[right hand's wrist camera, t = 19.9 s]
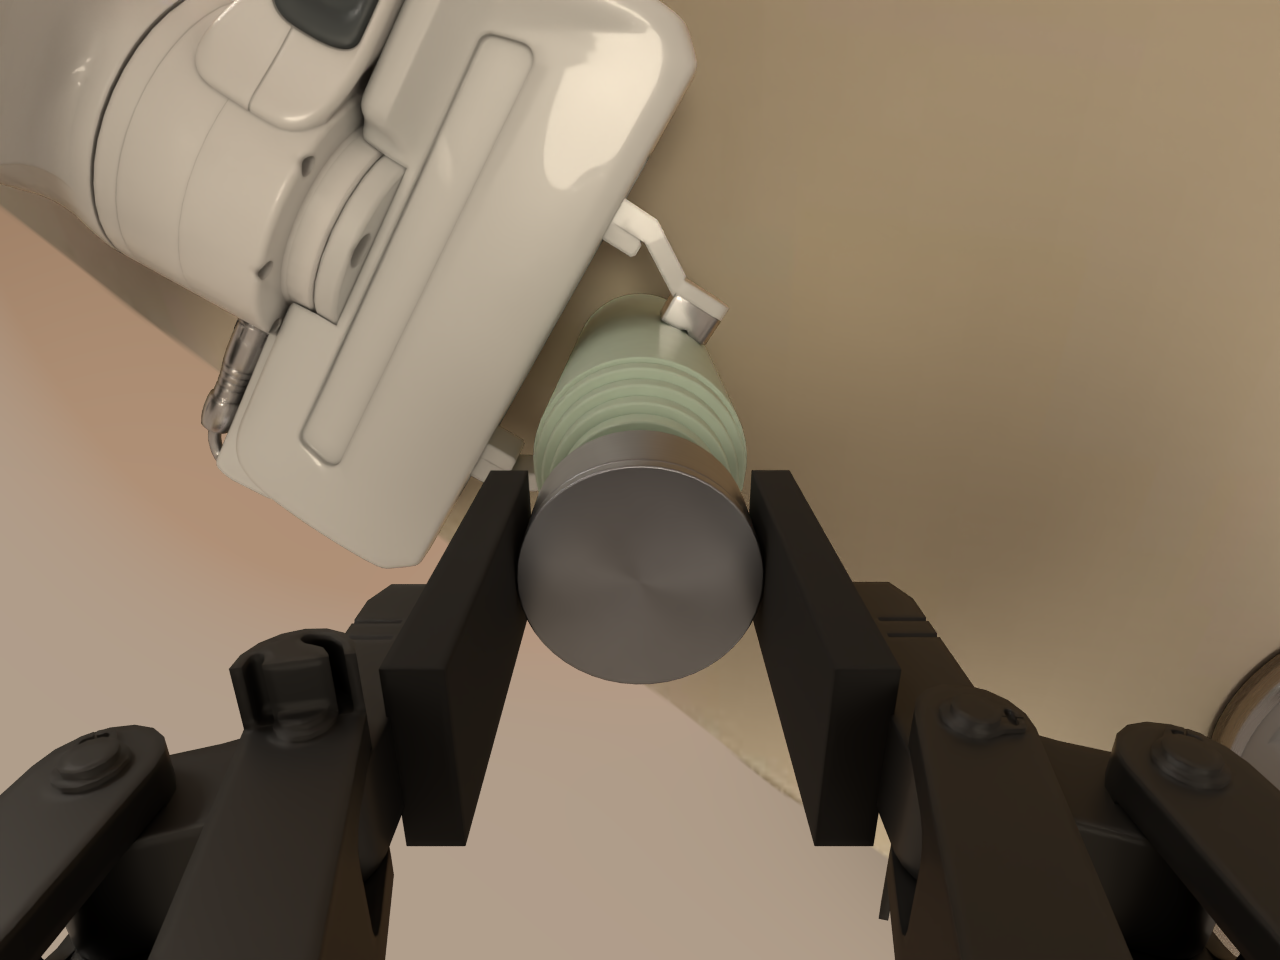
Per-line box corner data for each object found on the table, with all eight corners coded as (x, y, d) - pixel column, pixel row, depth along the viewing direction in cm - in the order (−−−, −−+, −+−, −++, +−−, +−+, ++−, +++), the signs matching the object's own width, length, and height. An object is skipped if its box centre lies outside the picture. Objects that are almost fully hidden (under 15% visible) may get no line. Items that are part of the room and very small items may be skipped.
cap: (739, 627, 15) (753, 687, 13) (534, 622, 15) (519, 682, 13) (757, 432, 14) (776, 469, 12) (529, 425, 14) (511, 461, 12)
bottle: (700, 287, 30) (787, 408, 12) (707, 415, 32) (791, 677, 14) (568, 299, 30) (466, 435, 12) (583, 425, 32) (514, 698, 14)
